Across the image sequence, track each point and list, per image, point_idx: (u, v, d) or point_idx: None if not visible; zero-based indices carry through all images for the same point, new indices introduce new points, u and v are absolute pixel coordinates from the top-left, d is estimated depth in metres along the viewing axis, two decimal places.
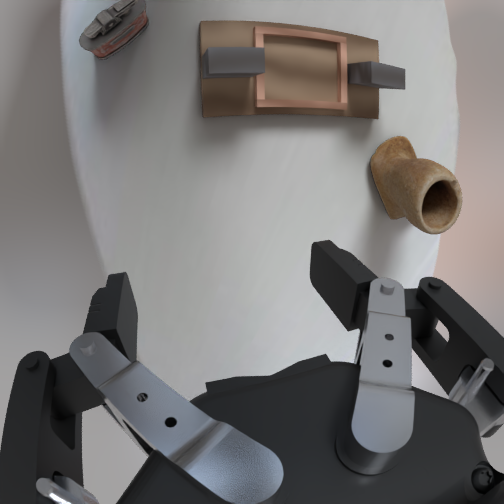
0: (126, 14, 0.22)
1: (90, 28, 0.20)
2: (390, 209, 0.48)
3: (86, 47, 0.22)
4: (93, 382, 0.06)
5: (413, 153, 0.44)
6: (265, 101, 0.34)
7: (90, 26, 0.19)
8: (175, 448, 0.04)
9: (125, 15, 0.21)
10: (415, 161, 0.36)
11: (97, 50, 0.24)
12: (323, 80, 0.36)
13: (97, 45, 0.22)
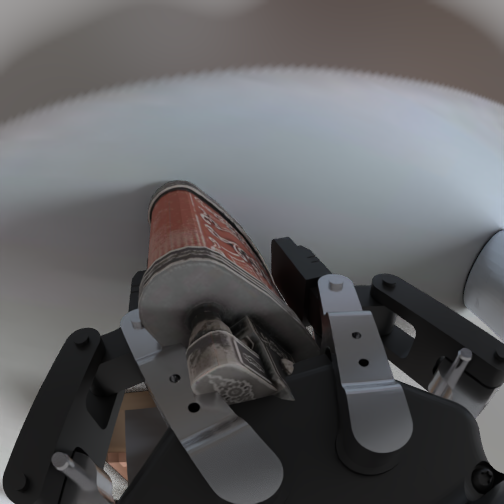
0: None
1: (234, 384, 0.06)
2: None
3: (149, 298, 0.07)
4: (134, 355, 0.07)
5: None
6: (121, 467, 0.19)
7: (246, 381, 0.06)
8: (189, 433, 0.05)
9: None
10: None
11: None
12: None
13: (157, 335, 0.07)
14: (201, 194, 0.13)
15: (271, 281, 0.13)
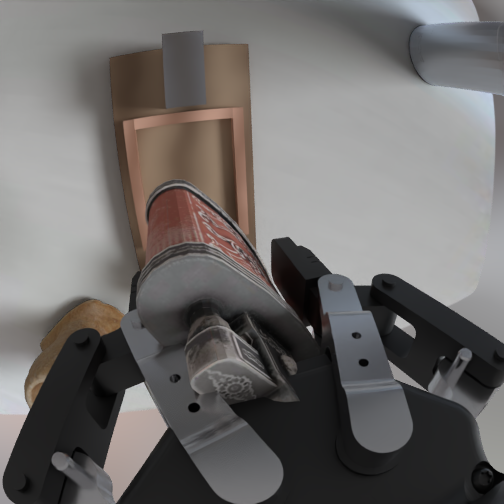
0: None
1: (234, 380, 0.06)
2: (48, 340, 0.31)
3: (147, 294, 0.07)
4: (134, 355, 0.07)
5: None
6: (132, 131, 0.24)
7: (245, 377, 0.06)
8: (189, 433, 0.05)
9: None
10: None
11: None
12: None
13: (155, 333, 0.07)
14: (198, 193, 0.13)
15: (269, 279, 0.13)
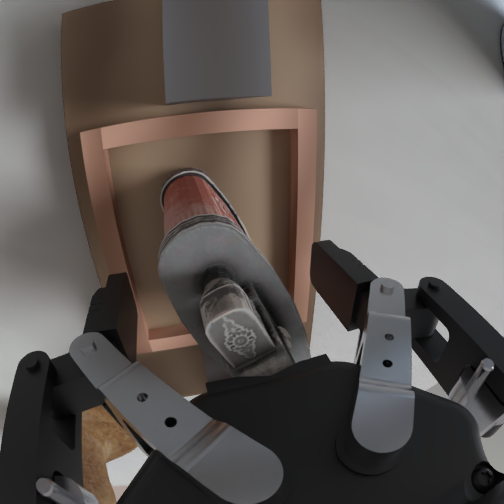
0: None
1: (242, 332, 0.07)
2: None
3: (172, 251, 0.08)
4: (93, 382, 0.06)
5: (123, 453, 0.23)
6: (98, 153, 0.12)
7: (252, 331, 0.07)
8: (175, 448, 0.04)
9: None
10: (96, 497, 0.13)
11: None
12: None
13: (168, 290, 0.08)
14: (212, 183, 0.14)
15: None
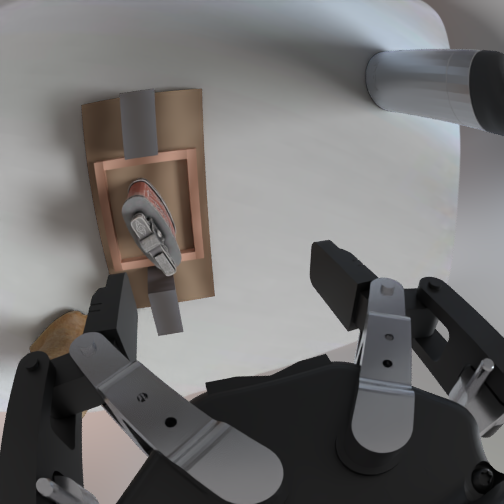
0: None
1: (141, 225, 0.24)
2: (36, 345, 0.35)
3: (125, 205, 0.24)
4: (92, 382, 0.06)
5: None
6: (101, 172, 0.28)
7: (144, 225, 0.24)
8: (175, 448, 0.04)
9: None
10: None
11: None
12: None
13: (124, 218, 0.25)
14: (150, 185, 0.31)
15: (169, 222, 0.31)
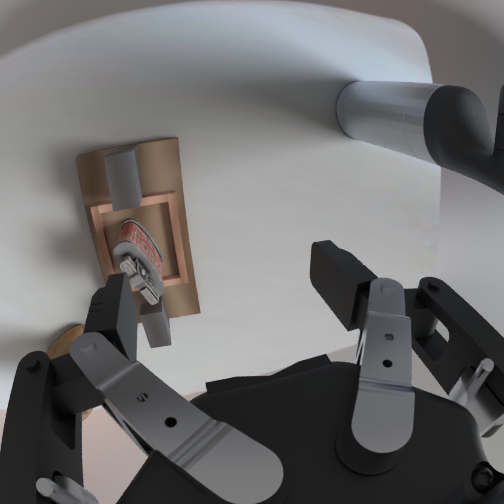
0: None
1: (128, 267, 0.29)
2: (49, 353, 0.41)
3: (116, 249, 0.30)
4: (92, 382, 0.06)
5: None
6: (97, 214, 0.34)
7: (130, 267, 0.29)
8: (175, 448, 0.04)
9: None
10: None
11: None
12: None
13: (116, 259, 0.31)
14: (138, 224, 0.37)
15: (155, 256, 0.36)
